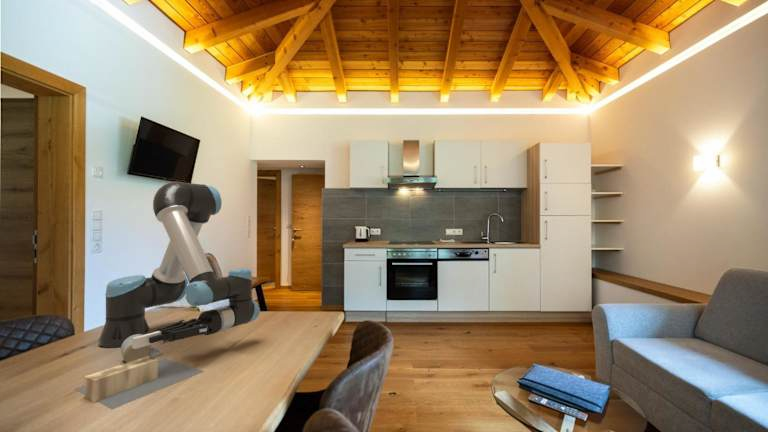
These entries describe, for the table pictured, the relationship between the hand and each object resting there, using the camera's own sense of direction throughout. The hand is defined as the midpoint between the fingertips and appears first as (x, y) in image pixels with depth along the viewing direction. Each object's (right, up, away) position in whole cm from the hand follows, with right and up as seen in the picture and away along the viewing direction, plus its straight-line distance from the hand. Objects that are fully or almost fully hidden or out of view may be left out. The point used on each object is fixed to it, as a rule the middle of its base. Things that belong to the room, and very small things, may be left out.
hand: (133, 343), depth 88 cm
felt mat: (+1, -12, +2) cm, 12 cm away
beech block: (+2, -8, +4) cm, 9 cm away
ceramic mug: (-11, -12, +18) cm, 24 cm away
